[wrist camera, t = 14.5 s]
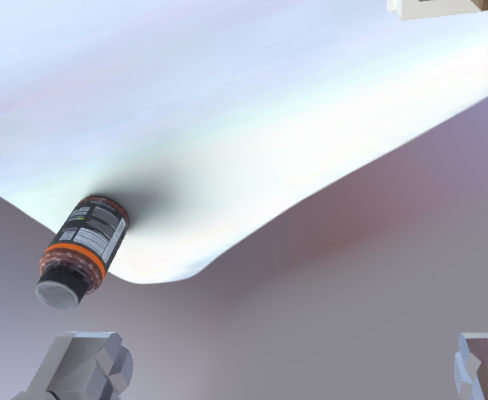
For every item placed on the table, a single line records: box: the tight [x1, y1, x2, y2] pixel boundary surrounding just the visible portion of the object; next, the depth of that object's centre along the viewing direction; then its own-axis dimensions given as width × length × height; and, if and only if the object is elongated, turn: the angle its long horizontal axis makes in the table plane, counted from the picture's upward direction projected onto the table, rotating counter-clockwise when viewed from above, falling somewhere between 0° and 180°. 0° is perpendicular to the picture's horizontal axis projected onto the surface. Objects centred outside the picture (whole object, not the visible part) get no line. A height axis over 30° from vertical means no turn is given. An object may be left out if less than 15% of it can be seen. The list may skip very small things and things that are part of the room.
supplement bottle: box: [35, 196, 129, 310], centre depth 43 cm, size 6×6×11 cm
